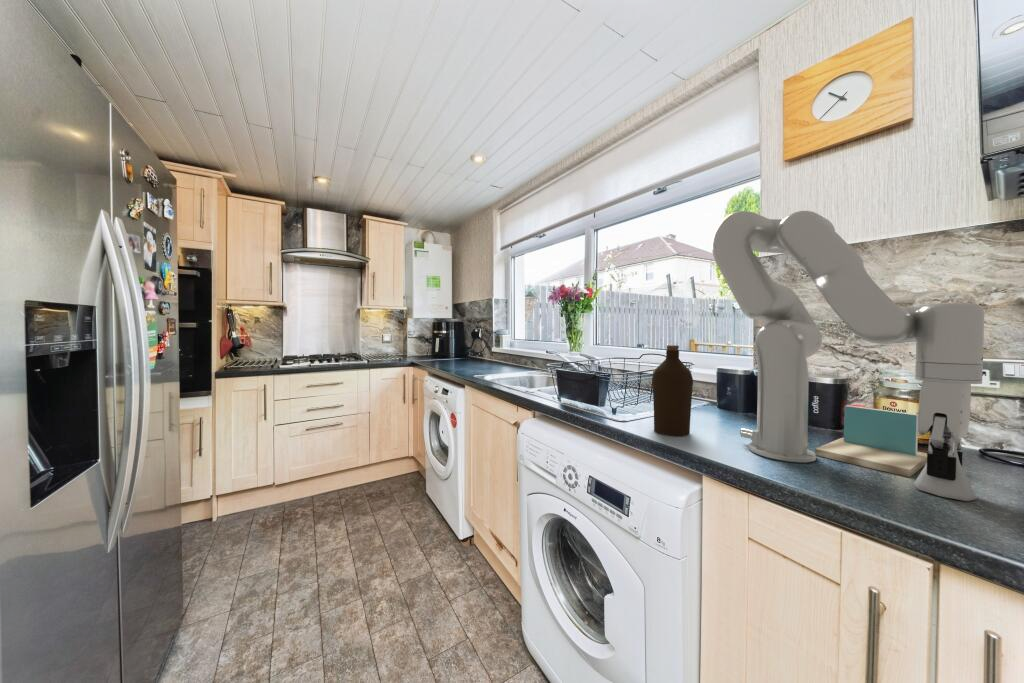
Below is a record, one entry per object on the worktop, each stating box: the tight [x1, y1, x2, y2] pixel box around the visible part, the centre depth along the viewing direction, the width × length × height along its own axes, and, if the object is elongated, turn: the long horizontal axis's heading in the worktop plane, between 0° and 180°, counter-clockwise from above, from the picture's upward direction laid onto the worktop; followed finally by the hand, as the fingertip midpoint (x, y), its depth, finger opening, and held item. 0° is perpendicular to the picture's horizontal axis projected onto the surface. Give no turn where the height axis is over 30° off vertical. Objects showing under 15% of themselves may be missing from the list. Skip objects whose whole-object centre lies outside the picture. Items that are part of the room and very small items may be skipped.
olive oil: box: [651, 344, 694, 437], centre depth 102 cm, size 11×11×25 cm
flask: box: [913, 436, 978, 502], centre depth 63 cm, size 7×7×10 cm
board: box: [814, 436, 928, 478], centre depth 81 cm, size 15×18×2 cm
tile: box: [843, 405, 919, 456], centre depth 84 cm, size 12×2×9 cm, turn 32°
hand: (944, 473), depth 63 cm, fingers closed on flask, 4 cm apart
